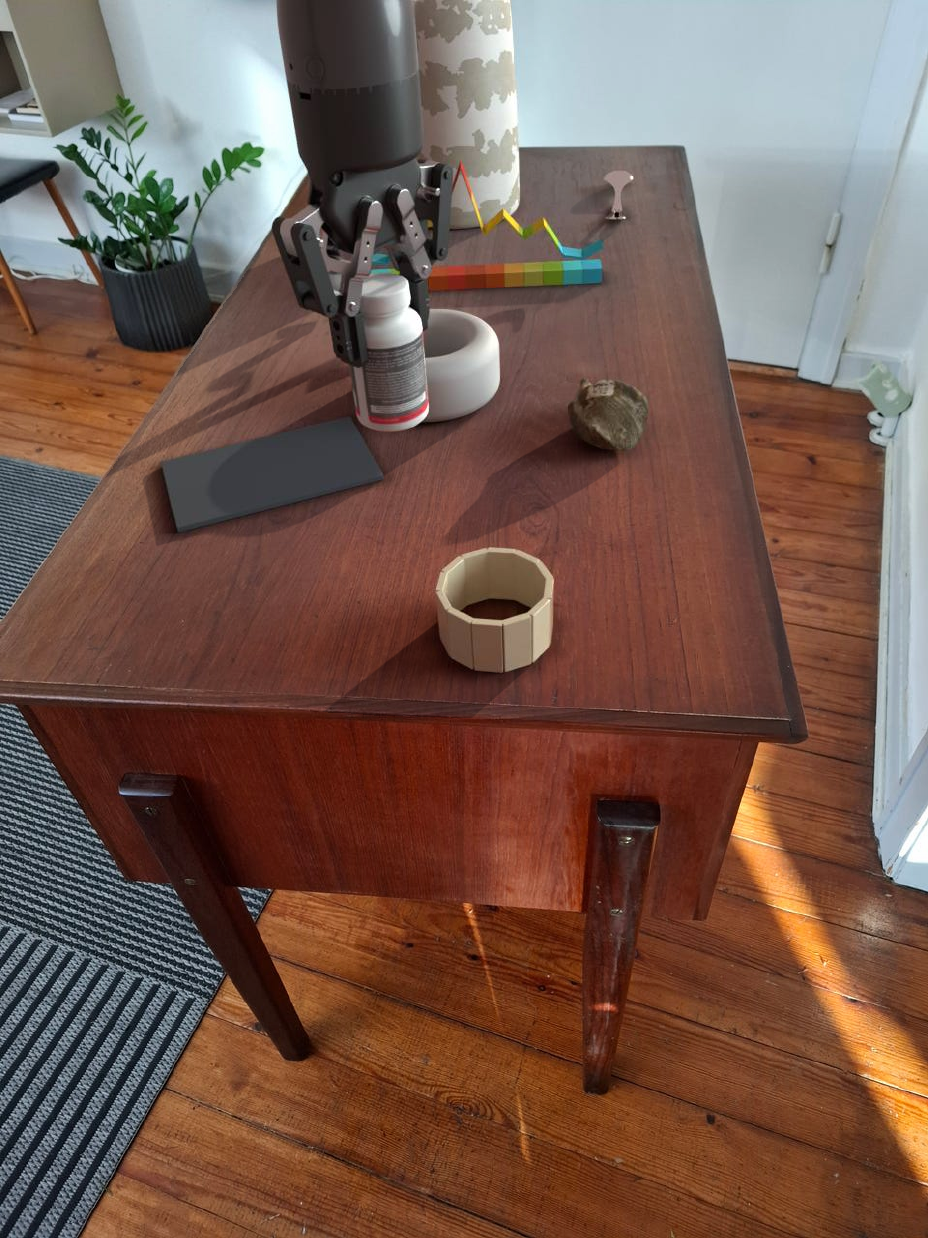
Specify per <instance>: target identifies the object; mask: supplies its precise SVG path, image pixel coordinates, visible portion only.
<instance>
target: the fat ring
mask: <svg viewBox="0 0 928 1238" xmlns="http://www.w3.org/2000/svg"><path fill="white" fill-rule="evenodd" d="M429 309H430V313H429V319H428V328H427V330H425V331H423V342H424V355H425V367H426V379H427V391H428V404H429V411H428V414H427V416H426V417H425V419H424V420H423V421H421V422H420V423H437V422H445V421H450V420H455V419H458V418H462V417H465V416H467V415H470V414H472V413H473V412H475V411H477V410H479V409H481V408H482V407H484V406H485V405H487V403H489V402H490V400H492V399H493V397H494V396H495V394H496V393H497V391H498V389H499V386H500V382H501V369H500V368H501V367H500V364H501V363H500V343H499V338H498V336H497V334H496V332H495V331H494V330H493V328H492V327H491V326H490V325H489V324H488V323H487V322H486V321H484V320H483V319H482V318H480V317H478V316H476V315H474V314H471V313H468V312H464V311H460V310H455V309H445V308H429Z"/></svg>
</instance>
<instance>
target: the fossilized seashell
mask: <svg viewBox="0 0 928 1238" xmlns="http://www.w3.org/2000/svg"><path fill="white" fill-rule="evenodd" d="M649 410H650V409H649V403H648V399H647V398H646V395H645V394H643V392H642V391H640V390H639V389H638V388H636V387H635V386H633V385H632V384H629V383H626V382H624V381H621V380H617V379H616V380H615V379H601V380H599V381H596V382H593V383H590V380H589V379H588V378H586V377H584V378H582V379H581V380H580V385H579V388H578V391H577V392H576V395H575V396H574V397H573V398H572V400H571V401H570V402H569V403H568V405H567V412H568V418H569V421H570V425H571V427H572V429H573V430H572V431H574V433H575V434H576V435H577V436H578V437H579V438H580V439H581V440H582V441H584V442H585V443H587V444H588V445H591V446H593V447H596V448H598V449H602V450H606V451H607V450H608V451H622V452H628V451H631V449H634V448H635V447H636V446H637V445H638V444H639V442H640V441H641V438H642V437H643V434H644V432H645V427H646V424H647V420H648V415H649Z"/></svg>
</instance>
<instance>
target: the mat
mask: <svg viewBox="0 0 928 1238" xmlns="http://www.w3.org/2000/svg"><path fill="white" fill-rule="evenodd" d="M160 465H161V470H162V474H163V477H164V482H165V486H166V490H167V494H168V499H169V503H170V507H171V512H172V515H173V519H174V525H175V528H176V531H177V533H182V532H187V531H190V530H194V529H198V528H202V527H206V526H210V525H215V524H217V523H222V522H226V521H229V520H233V519H237V518H241V517H245V516H248V515H252V514H256V513H261V512H263V511H267V510H271V509H276V508H279V507H283V506H287V505H291V504H294V503H299V502H302V501H305V500H306V501H307V500H310V499H313V498H317V497H318V498H319V497H321V496H325V495H329V494H333V493H337V492H341V491H344V490H345V491H346V490H348V489H352V488H355V487H360V486H364V485H367V484H371V483H375V482H380V481H383V480H384V474H383V472H382V470H381V468H380V467H379V465H378V462H377V461H376V460H375V458H374V456H373V455H372V452H371V451H370V449H369V447H368V446H367V443H366V442H365V439H364V438H363V437H362V435H361V433H360V431H359V430H358V428H357V426H356V424H355V422H354V420H353V419H352V417H351V416H345V417H341V418H337V419H333V420H329V421H324V422H320V423H315V424H312V425H308V426H304V427H303V426H302V427H299V428H295V429H290V430H287V431H282V432H279V433H274V434H271V435H266V436H262V437H257V438H254V439H250V440H246V441H241V442H237V443H234V444H229V445H225V446H221V447H217V448H212V449H208V450H204V451H199V452H195V453H192V454H188V455H183V456H179V457H174V458H170V459H166V460H162V461H160Z"/></svg>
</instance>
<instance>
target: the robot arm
mask: <svg viewBox="0 0 928 1238" xmlns="http://www.w3.org/2000/svg"><path fill="white" fill-rule="evenodd" d="M276 18H277V28H278V29H277V30H278V37H279V41H280V49H281V54H282V55H281V56H282V61H283V67H284V73H285V79H286V85H287V91H288V98H289V104H290V110H291V116H292V123H293V129H294V135H295V140H296V141H295V142H296V147H297V153H298V156H299V158H300V160H301V162H302V163H303V165H304V167H305V169H306V171H307V174H308V177H309V189H308V194H307V199H306V204H307V206H305V207H304V208H303V209H302V210H300V211H299V212H297V213H296V214H295V215H293V216H292V217H290V218H288V217H285V216H280V215H279V216H276V217H275V218H274V219H273V221H272V224H271V232H272V235H273V238H274V241H275V243H276V246H277V249H278V251H279V254H280V257H281V260H282V263H283V265H284V268H285V272H286V274H287V276H288V279H289V282H290V285H291V287H292V290H293V293H294V296H295V299H296V301H297V304H298V306H299V307H300V308H301V309H303V310H307V311H310V312H314V313H316V314H319V315H321V316H323V317H326V318H328V325H329V331H330V337H331V342H332V349H333V353H334V355H335V357H336V358H337V359H340V360H341V362H342V363H344V364H347V365H348V366H349V365H352V366H354V367H357V368H360V367H362V366H364V365H365V364H367V363H368V361H369V359H368V351H367V344H366V336H365V328H364V321H363V313H361V312H359V307H360V301H361V294H362V287H363V282H364V280H365V279H367V278H368V277H369V276H370V274H371V271H372V266H373V264H372V260H373V255H375V254H378V252H380V251H381V250H382V249H385V251H386V252H387V255H389V257H390V262H391V263H392V266H393V269H395V270H396V271H398V272H400V274H398V275H400V276H403V277H404V278H406V279H407V281H408V284H409V292H410V298H411V299H410V304H409V306H408V307H410V308H412V309H413V310H414V311H416V312H417V314H418V315H419V316H420V318H421V322H422V327H423V331H425V330H427V328H428V319H429V313H430V309H431V308H430V298H429V291H428V284H427V278H428V277H429V276H430V274H431V269H432V267H433V265H434V264H435V263H436V262H437V261H440V262H443V261H444V260H445V259H446V258H447V256H448V253H449V244H450V230H451V229H450V215H451V199H452V184H453V169H452V167H451V165H449V164H444V163H439V162H435V161H430V160H426V159H421V158H420V159H418V160H417V159H416V157H417V156H418V155H419V154H420V152H421V151H422V148H423V145H424V136H423V123H422V109H421V95H420V81H419V67H418V55H417V41H416V27H415V16H414V8H413V2H412V0H276ZM428 220H430V221H431V222H432V223H433V228H432V237H431V238H430V237H428V235H429V234H428V233H429V228H428ZM321 230H322V234H321ZM341 251H342V252H344V253H346V254H350V255H352V259H351V260H347V259H345V258H343V257H342V255H341ZM342 276H343V278H344V281H343V289H342V292H341V283H342Z"/></svg>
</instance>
